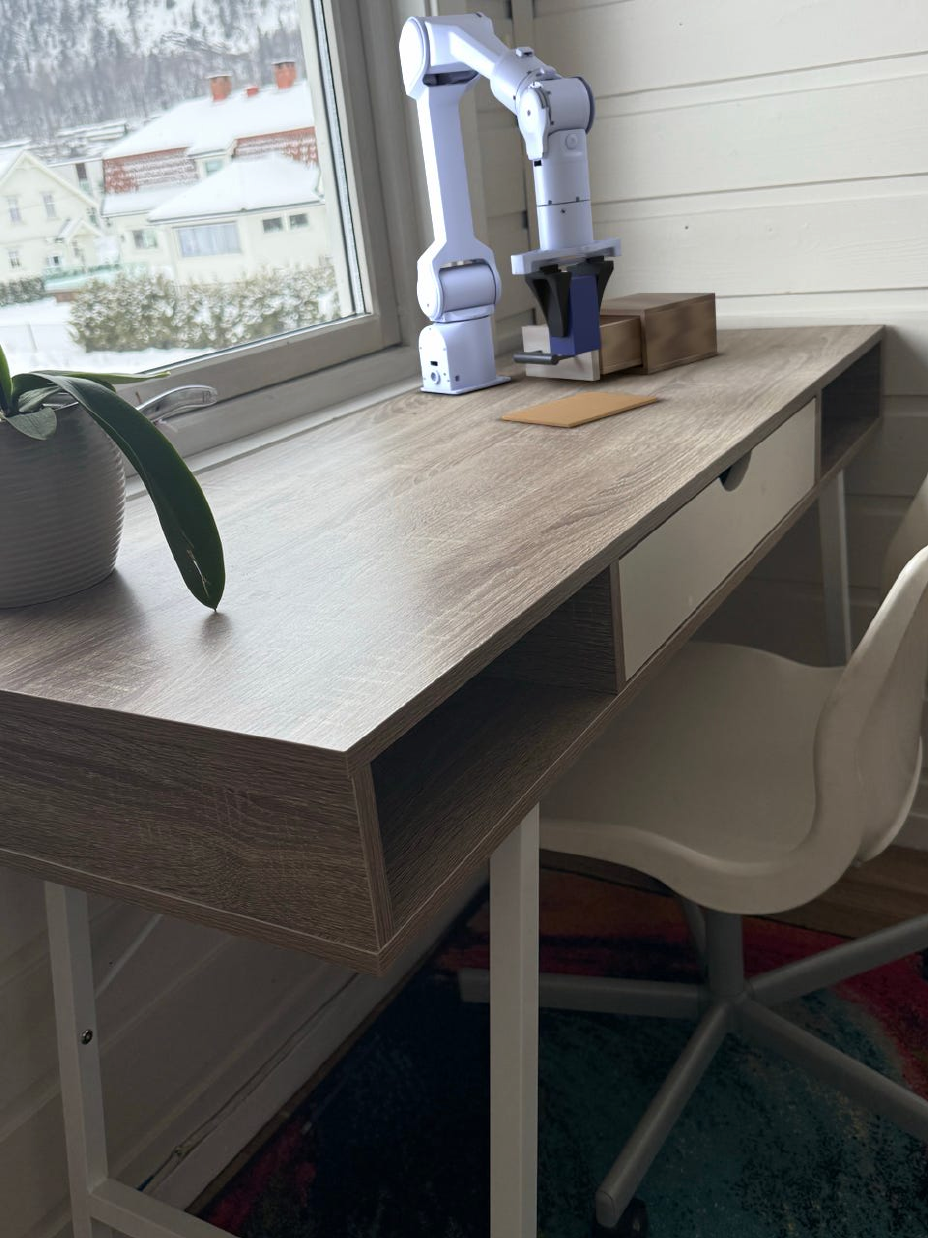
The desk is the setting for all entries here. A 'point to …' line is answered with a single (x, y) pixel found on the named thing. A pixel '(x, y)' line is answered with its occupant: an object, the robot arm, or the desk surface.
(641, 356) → the drawer
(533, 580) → the desk surface
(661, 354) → the cabinet
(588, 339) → the navy block
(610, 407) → the cork pad
